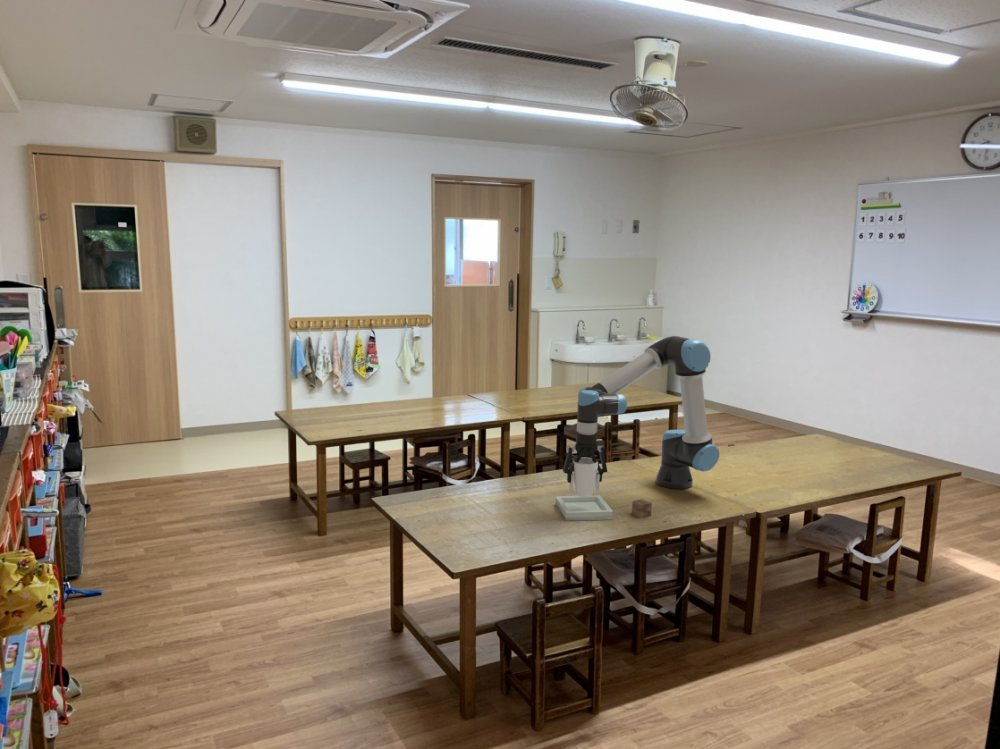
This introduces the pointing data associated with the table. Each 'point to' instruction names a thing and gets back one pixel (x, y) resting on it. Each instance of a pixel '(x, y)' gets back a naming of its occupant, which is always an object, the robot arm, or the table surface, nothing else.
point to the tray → (583, 508)
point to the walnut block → (641, 508)
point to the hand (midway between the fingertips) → (584, 490)
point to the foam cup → (584, 476)
